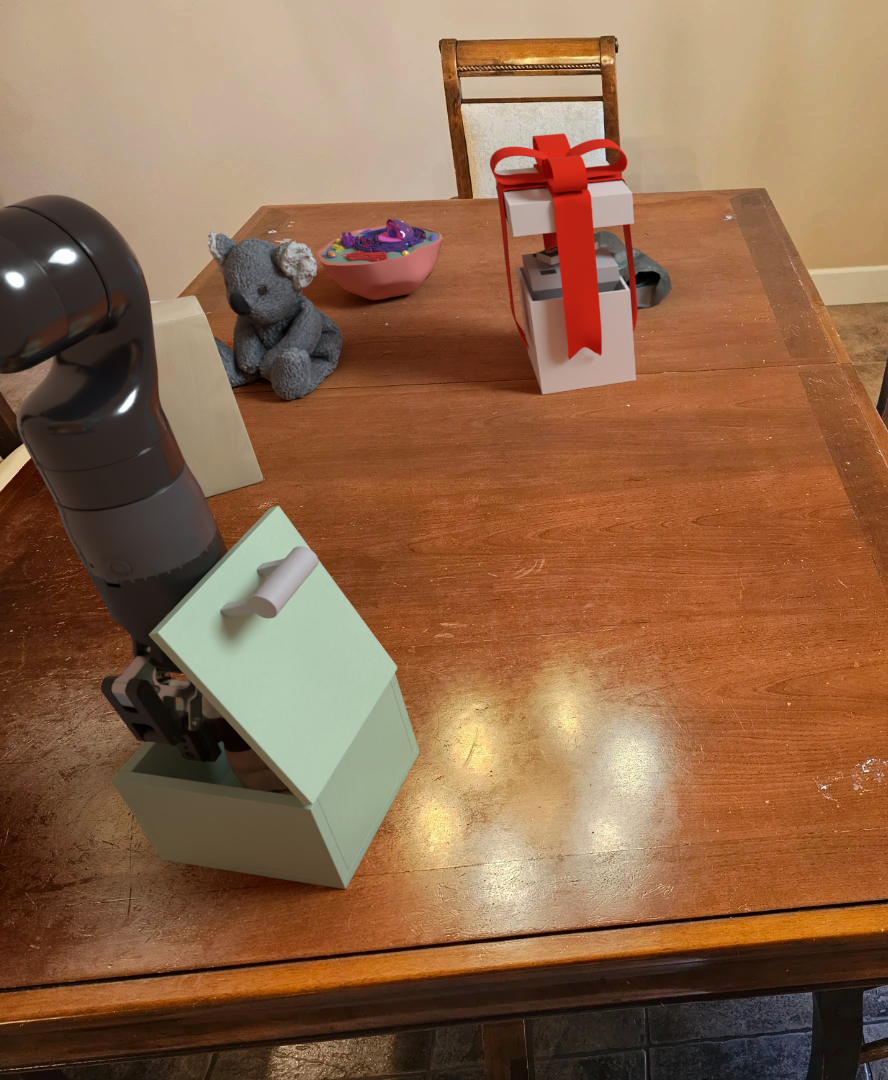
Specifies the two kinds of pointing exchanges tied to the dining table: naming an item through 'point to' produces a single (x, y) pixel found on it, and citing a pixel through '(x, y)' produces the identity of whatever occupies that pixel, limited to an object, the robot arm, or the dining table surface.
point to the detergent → (638, 270)
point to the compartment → (272, 805)
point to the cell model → (382, 259)
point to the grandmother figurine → (242, 755)
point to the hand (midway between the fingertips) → (235, 718)
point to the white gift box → (570, 262)
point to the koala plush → (274, 316)
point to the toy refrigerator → (200, 399)
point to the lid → (279, 653)
